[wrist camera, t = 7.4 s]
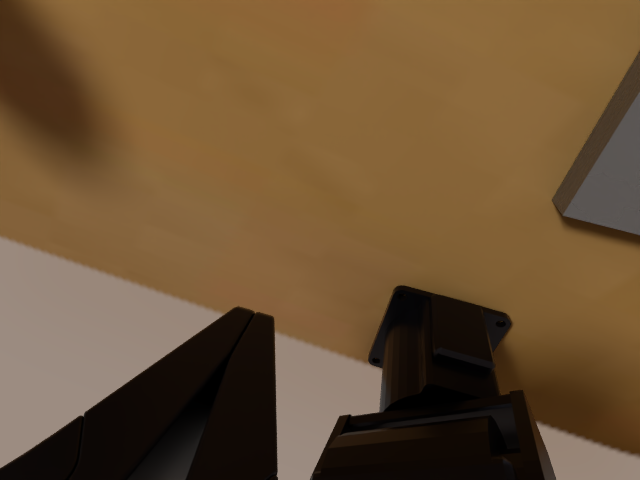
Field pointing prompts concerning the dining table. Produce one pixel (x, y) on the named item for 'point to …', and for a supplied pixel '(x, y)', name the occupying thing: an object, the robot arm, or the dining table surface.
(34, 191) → the dining table surface
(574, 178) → the plate
